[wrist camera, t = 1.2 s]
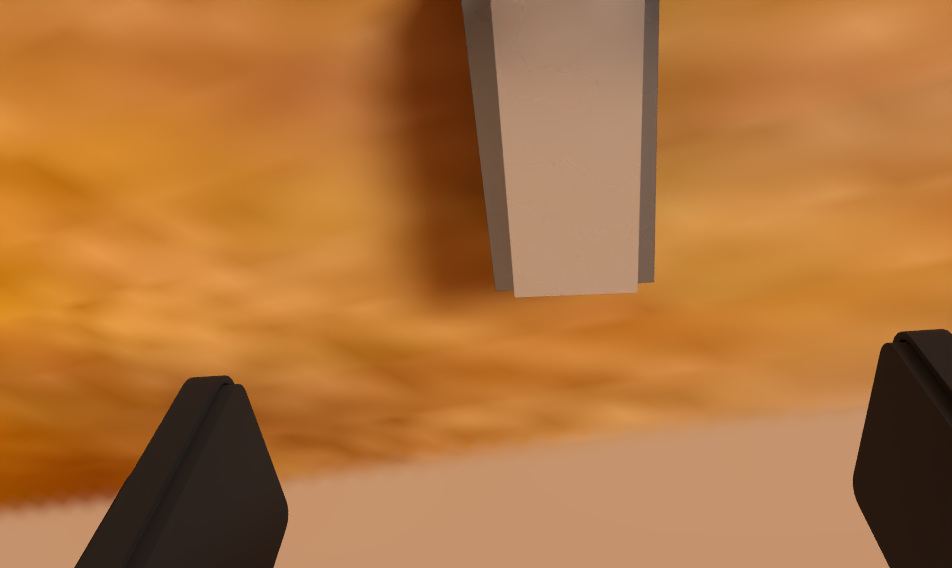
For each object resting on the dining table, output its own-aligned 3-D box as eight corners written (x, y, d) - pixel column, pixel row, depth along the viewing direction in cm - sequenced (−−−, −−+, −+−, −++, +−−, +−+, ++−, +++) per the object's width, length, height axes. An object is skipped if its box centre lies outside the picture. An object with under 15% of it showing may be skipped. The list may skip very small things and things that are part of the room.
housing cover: (637, -31, 18) (645, -20, 17) (631, 265, 23) (637, 292, 21) (492, -18, 19) (490, -6, 17) (515, 271, 23) (514, 297, 22)
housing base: (640, -86, 21) (660, -67, 18) (639, 222, 26) (653, 282, 23) (468, -66, 22) (455, -44, 18) (500, 232, 27) (495, 291, 24)
